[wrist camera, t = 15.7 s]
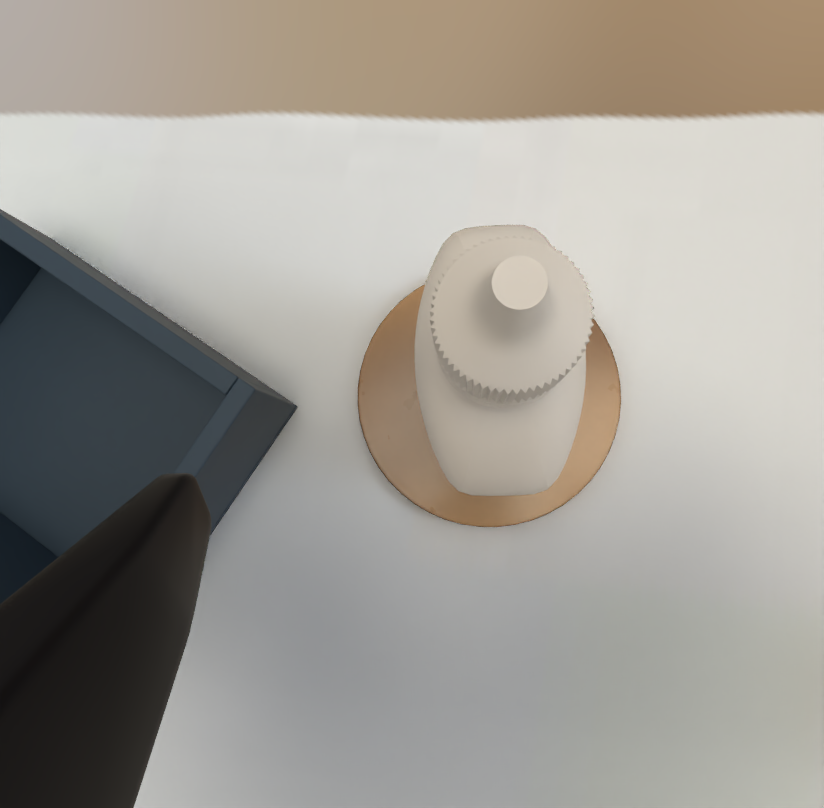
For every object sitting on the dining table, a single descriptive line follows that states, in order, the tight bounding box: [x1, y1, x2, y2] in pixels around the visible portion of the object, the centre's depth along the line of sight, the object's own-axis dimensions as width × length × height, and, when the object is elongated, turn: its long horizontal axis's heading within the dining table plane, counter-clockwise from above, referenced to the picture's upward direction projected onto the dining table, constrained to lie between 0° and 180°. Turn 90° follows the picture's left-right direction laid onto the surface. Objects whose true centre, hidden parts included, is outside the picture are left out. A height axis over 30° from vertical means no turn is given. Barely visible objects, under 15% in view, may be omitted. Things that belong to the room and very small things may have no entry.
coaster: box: [358, 285, 621, 527], centre depth 20 cm, size 8×8×1 cm
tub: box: [0, 209, 297, 604], centre depth 19 cm, size 11×9×4 cm
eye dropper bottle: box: [415, 225, 594, 496], centre depth 13 cm, size 4×6×12 cm
